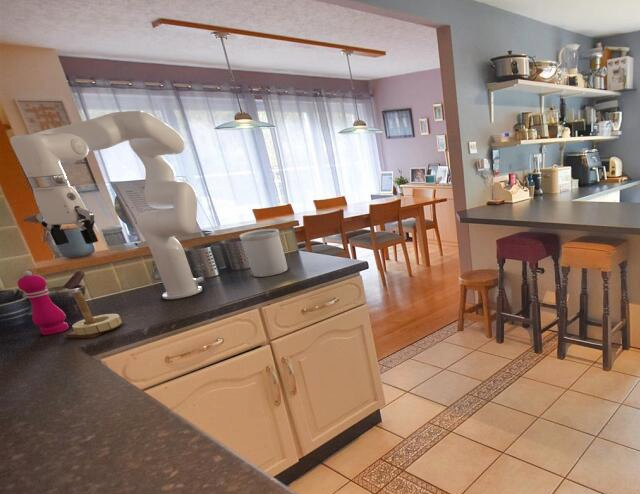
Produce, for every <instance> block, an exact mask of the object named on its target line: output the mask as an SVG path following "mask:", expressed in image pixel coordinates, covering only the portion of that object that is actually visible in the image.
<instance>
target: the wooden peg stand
mask: <svg viewBox="0 0 640 494" xmlns="http://www.w3.org/2000/svg"><path fill="white" fill-rule="evenodd" d="M72 295H73V298H74V301H75V302H76V304H77V307H78V309H79V310H80V313H81V315H82V317H83V320H84V319H85V321H86V324H94V323H96V322H95V320H94V318H93V317H94V316H93V313H92V312H91V310H90V308H89V305H88V303H87V301H86V299H85V296H84V294H83V292H82V290H75V291H72ZM121 326H122V323H121V324H120V325H118V326H116V327H114V328H112V329H109V330H106V331H102V332H98V333H94V334H87V335H77V334H76V333H75V332H74V330H73V331H71V332H69V333H66V334H65V336H66V338H67V339H87V338H88V339H94V338H96V337H98V336H101V335H104V334H105V333H108V332H109V331H112V330H114V329H116V328H118V327H121Z"/></svg>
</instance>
